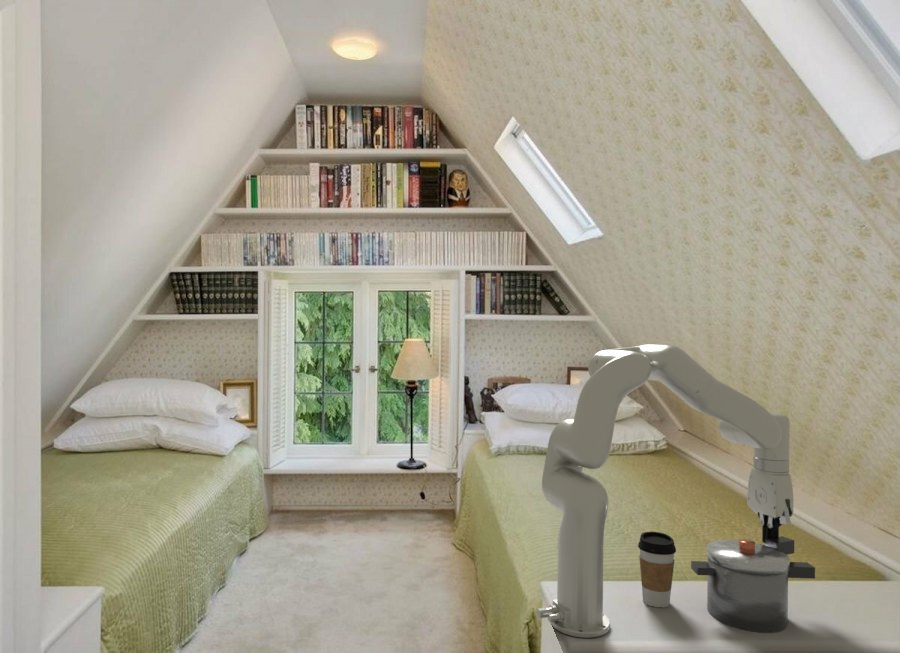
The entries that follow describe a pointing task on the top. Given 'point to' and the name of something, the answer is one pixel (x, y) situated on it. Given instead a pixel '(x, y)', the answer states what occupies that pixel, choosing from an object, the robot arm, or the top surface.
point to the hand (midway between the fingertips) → (770, 543)
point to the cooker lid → (752, 555)
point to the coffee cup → (656, 567)
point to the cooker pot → (750, 595)
